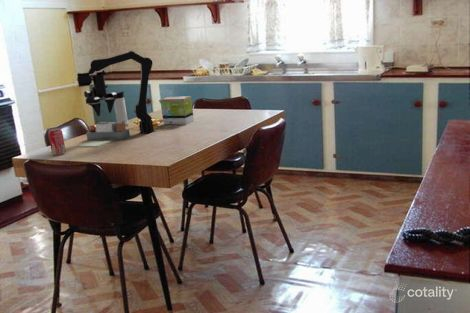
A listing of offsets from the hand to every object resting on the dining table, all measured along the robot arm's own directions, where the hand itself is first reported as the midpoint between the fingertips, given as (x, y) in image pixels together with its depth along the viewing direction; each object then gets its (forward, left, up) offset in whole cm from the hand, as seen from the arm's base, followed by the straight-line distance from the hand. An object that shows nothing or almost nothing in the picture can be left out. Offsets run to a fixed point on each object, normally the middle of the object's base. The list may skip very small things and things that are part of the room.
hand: (104, 114), depth 270 cm
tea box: (-22, -37, -13) cm, 45 cm away
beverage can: (+4, +33, -13) cm, 36 cm away
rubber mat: (-2, +14, -13) cm, 19 cm away
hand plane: (-1, +1, -13) cm, 13 cm away
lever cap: (-1, +1, -9) cm, 9 cm away
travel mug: (+12, -31, -13) cm, 35 cm away
